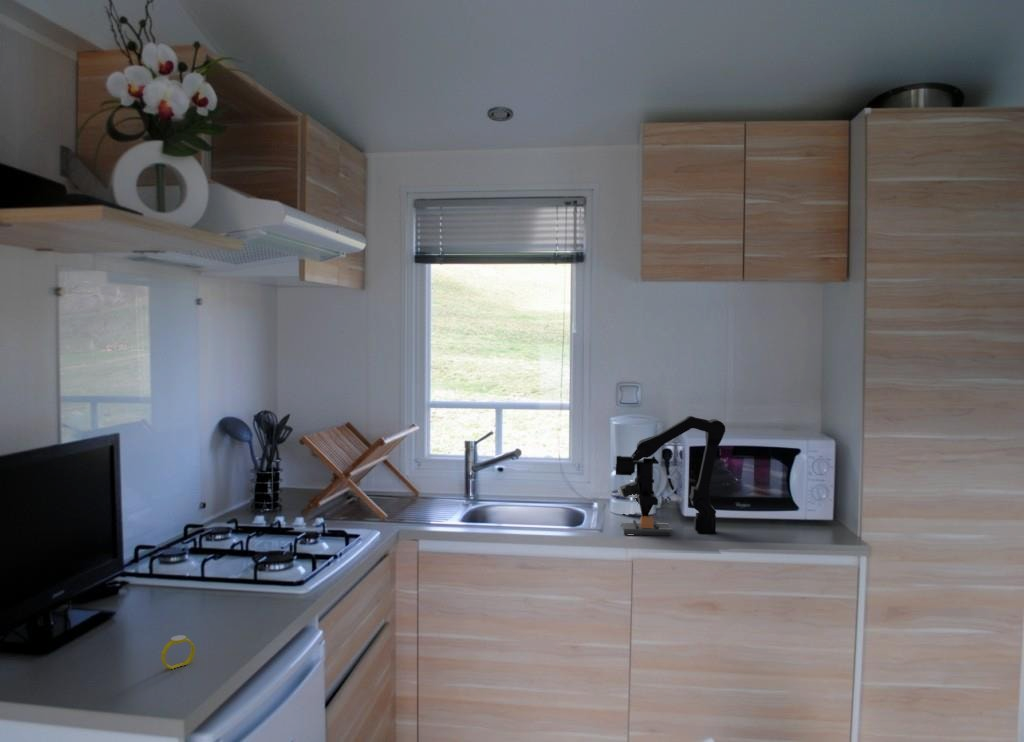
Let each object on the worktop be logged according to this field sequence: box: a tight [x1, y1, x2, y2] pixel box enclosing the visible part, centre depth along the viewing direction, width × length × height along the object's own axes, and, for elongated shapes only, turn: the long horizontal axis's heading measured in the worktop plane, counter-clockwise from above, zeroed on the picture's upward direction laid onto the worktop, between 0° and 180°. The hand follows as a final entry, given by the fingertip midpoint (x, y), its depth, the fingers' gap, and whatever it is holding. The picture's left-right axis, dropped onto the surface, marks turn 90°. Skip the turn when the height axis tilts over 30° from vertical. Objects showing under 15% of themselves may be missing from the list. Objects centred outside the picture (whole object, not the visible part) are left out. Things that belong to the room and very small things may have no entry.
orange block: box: [640, 515, 654, 528], centre depth 240 cm, size 4×2×4 cm, turn 87°
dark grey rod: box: [623, 532, 671, 537], centre depth 237 cm, size 16×1×1 cm, turn 87°
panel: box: [620, 519, 673, 536], centre depth 242 cm, size 16×8×3 cm, turn 87°
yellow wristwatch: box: [160, 634, 196, 670], centre depth 138 cm, size 6×3×6 cm, turn 133°
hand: (644, 519), depth 245 cm, fingers closed
